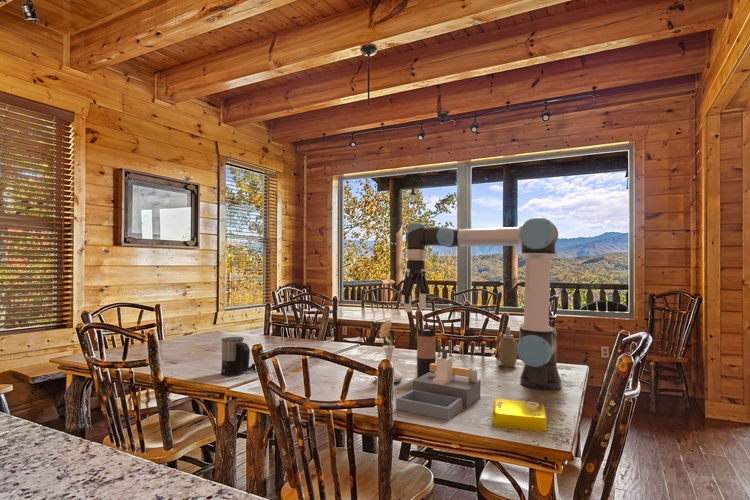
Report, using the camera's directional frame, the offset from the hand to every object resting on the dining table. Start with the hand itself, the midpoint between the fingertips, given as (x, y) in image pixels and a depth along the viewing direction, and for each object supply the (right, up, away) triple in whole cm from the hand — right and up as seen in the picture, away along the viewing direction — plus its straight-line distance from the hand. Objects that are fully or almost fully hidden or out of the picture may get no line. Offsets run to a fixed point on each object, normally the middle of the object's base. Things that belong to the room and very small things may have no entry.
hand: (415, 310), depth 185 cm
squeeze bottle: (+45, -29, +20) cm, 57 cm away
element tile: (+27, -27, -51) cm, 64 cm away
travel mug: (+4, -28, -4) cm, 28 cm away
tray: (+1, -26, -42) cm, 50 cm away
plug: (+7, -24, -30) cm, 39 cm away
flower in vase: (-12, -27, -11) cm, 31 cm away
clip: (+11, -21, -27) cm, 36 cm away
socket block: (+8, -27, -30) cm, 41 cm away
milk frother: (-74, -27, +1) cm, 78 cm away
